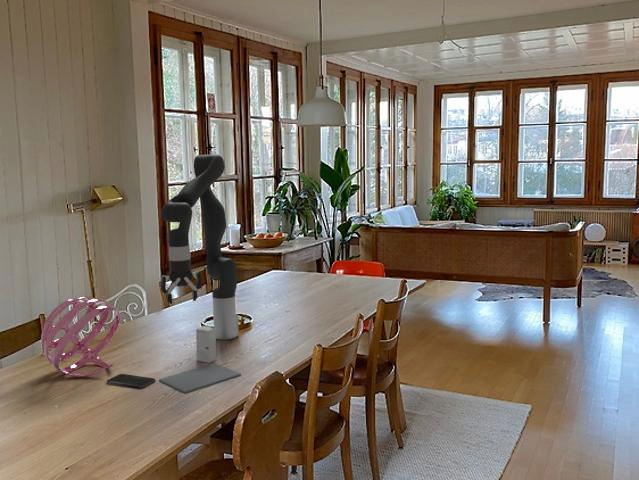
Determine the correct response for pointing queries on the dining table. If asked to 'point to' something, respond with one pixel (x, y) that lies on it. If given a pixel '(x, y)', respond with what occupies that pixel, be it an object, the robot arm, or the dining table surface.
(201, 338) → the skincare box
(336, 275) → the dining table surface
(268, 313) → the dining table surface
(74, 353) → the spiral basket
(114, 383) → the phone
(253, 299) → the dining table surface
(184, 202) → the robot arm
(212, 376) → the rubber mat
